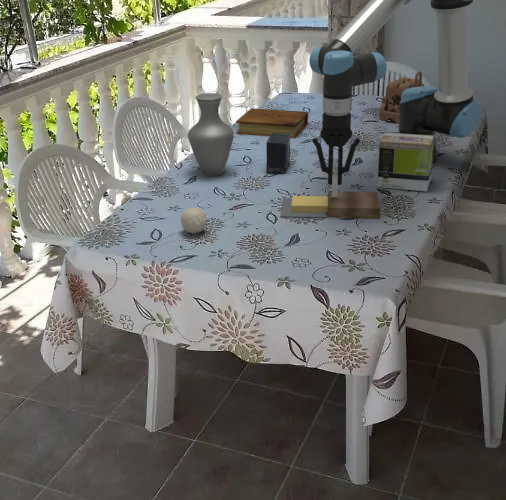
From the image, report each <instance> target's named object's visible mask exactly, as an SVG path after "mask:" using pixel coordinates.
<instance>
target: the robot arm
mask: <svg viewBox="0 0 506 500" xmlns="http://www.w3.org/2000/svg"><path fill="white" fill-rule="evenodd" d="M410 2H412V0H370V1H368V2H367V3H366V4H365V5H364V7H362V9H360V11H359V12H358V13H356V15H355V16H354V17H353V18H352V19H351V20H350V22H348V24H347V25H346V26H345V27H344V28H343V29H342V30H341V31H340V32H339V33H338V34H337V36H335V37H334V38H333V39H332V41H331V42H330V43H329V44H328V45H321V46H316V47H315V48H314V49H312V51H311V52H310V55H309V62H308V63H309V66H310V68H311V69H310V70H311V71H312V72H314V73H316V74H318V75H321V76H323V77H322V89H323V90H322V111H323V113H322V124H321V125H322V127H321V128H322V129H321V130H320V133H319V134H318V135H314V136H313V137H312V143H313V145H314V146H315V148H316V152H317V153H316V154H317V157H318V161H319V164H320V170H321V172H323V173H326V174H327V184H328V185H329V186H331V191H332V197H337V191H338V186H341V185H342V184H343V174H345V173H349V171H350V168H351V165H352V161H353V158H354V156H355V155H354V154H355V151H356V148H357V146H358V145H359V144H360V143H361V138H360V137H359V136H357V135H354V134H353V130H352V129H351V126H352V125H351V124H352V123H351V122H352V113H350V112H351V111H352V99H353V87H357V86H361V85H362V86H363V85H366V84H370V83H371V84H372V83H374V82H378V81H380V80H382V78H384V77H385V75H386V72H387V61H386V59H385V57H384V55H382V53H380V52H375V51H374V52H370V51H369V52H368V53H360V51H361V50H362V49H363V48H364V47H365V46H366V44H367V43H368V42H369V41H370V40H371V39H372V38H373V37H375V35H376V34H377V33H378V32H379V30H380V29H381V28H382V27H383V26H384V25H385V24H386V23H387V22H389V20H390V19H391V18H392V16H394V14H395V13H396V12H397V11H398V10H399V9H400V8H401V7H402V6H406V5H408V4H409V3H410ZM472 4H474V0H430V8H431V9H432V10H433V11H434V12H436V15H435V16H436V40H437V41H436V42H437V68H438V69H437V74H438V76H437V77H438V79H437V80H438V87H437V86H430V85H429V86H428V85H424V86H422V87H413V88H409V89H406V90H404V91H403V93H402V97H401V102H400V120H399V125H398V126H399V128H398V133H401V134H417V135H433V136H434V146H433V159H432V163H433V162H435V161H437V160H438V158H439V157H438V156H439V149H438V145H437V140H436V136H435V133H439V134H442V135H447V136H450V137H451V138H459V139H465V138H467V137H469V136H470V135H471V134H472V133H474V131H475V130H476V129H477V126H479V125H478V124H479V123H480V121H481V117H482V112H483V111H482V106H481V104H480V103H479V102H478V101H476V100H475V101H474V91H473V90H472V89H471V87H469V67H468V66H469V59H468V58H469V57H468V56H469V54H468V53H469V49H468V48H469V44H468V42H469V41H468V40H469V39H468V37H469V36H468V35H469V33H468V31H469V30H468V29H469V28H468V23H469V22H468V15H469V14H468V10H469V8H470V6H472ZM322 140H323V141H324V143H325V144H326V145H327V146H328V163H327V164H328V165H327V164H326V161H325V156H324V151H323V148H322V144H321V143H322ZM349 140H350V143H351V144H350V147H349V150H348V154H347V156H346V160H345V164H344V166H343V158H344V157H343V153H344V146H345V145H347V143H348V142H349ZM334 147H337V151H338V152H337V171H333V170H334Z"/></svg>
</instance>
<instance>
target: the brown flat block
mask: <svg viewBox="0 0 506 500" xmlns="http://www.w3.org/2000/svg"><path fill="white" fill-rule="evenodd" d="M327 196H328V213H327V218H328V217H336V218H335V219H338V218H339V219H374V220H375V219H380V217H381V216H380V215H381V204H380V200H379V193H378V191H349V190H348V191H341V190H339V191H338V190H337V197H332V190H328V191H327Z"/></svg>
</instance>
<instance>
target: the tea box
mask: <svg viewBox="0 0 506 500" xmlns="http://www.w3.org/2000/svg"><path fill="white" fill-rule="evenodd" d="M433 146H434V136H433V135H417V134H401V133H399V132H397V133H396V132H384V133H383V135H382V137H381V138H380V140H379V145H378V164H377V167H378V168H377V188H384V189H395V190H406V191H408V190H409V191H416V192H417V191H418V192H425V193H426V192H428V190H429V186H430V183H431V179H432V172H433V171H432V170H433V162H432V159H433Z"/></svg>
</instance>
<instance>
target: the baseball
mask: <svg viewBox="0 0 506 500" xmlns="http://www.w3.org/2000/svg"><path fill="white" fill-rule="evenodd" d="M180 216H181V217H180V223H181V226H182V228H183V229H184V230H185V232H187V233H190V234H198V233H201V232H202V231H204V230H205V228H206V227H207V223H208V218H207V215H206V213H205V211H204V210H202V209H201V208H199V207H189V208H186V209H185V210H184V211H183V212H182V214H181V215H180Z"/></svg>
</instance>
